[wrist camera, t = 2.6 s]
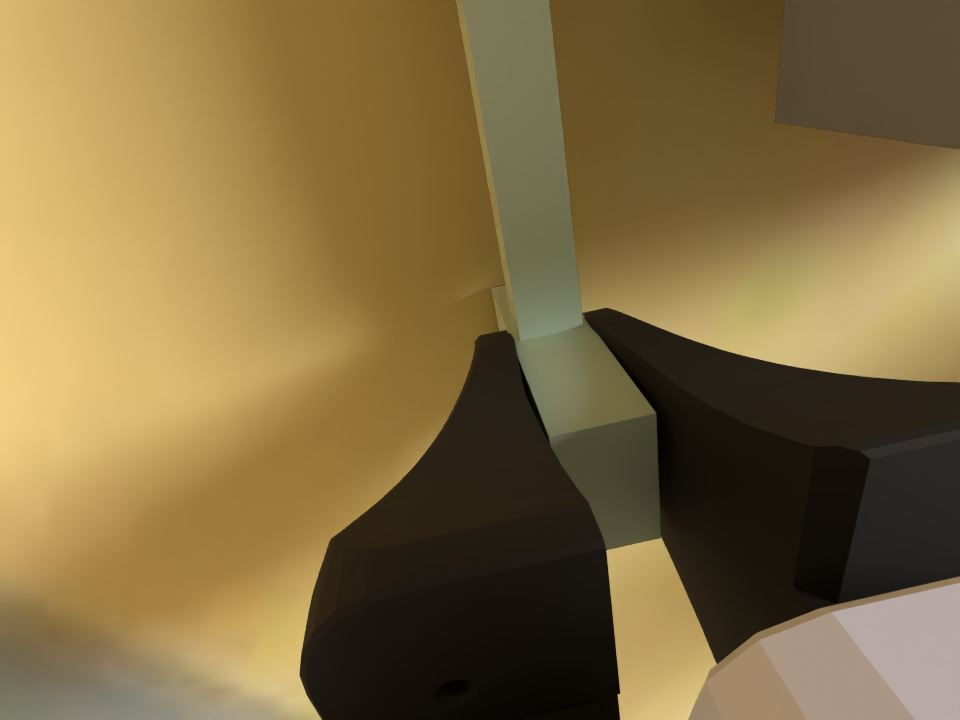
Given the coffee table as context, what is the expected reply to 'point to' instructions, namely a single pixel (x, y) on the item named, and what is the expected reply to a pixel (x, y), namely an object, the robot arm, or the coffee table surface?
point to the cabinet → (872, 68)
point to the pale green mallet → (554, 273)
